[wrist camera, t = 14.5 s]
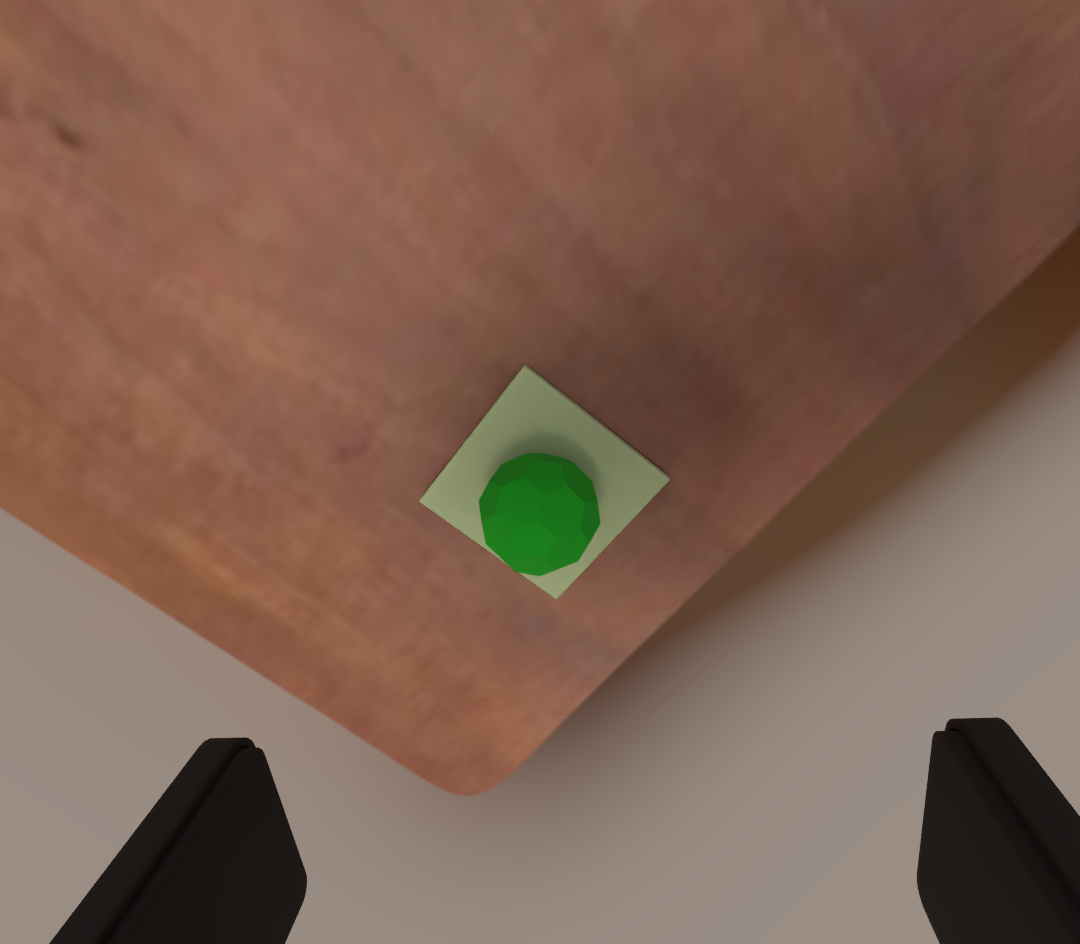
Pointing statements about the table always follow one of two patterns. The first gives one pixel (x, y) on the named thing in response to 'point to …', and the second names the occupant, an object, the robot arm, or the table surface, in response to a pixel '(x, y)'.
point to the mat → (556, 429)
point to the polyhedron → (539, 513)
